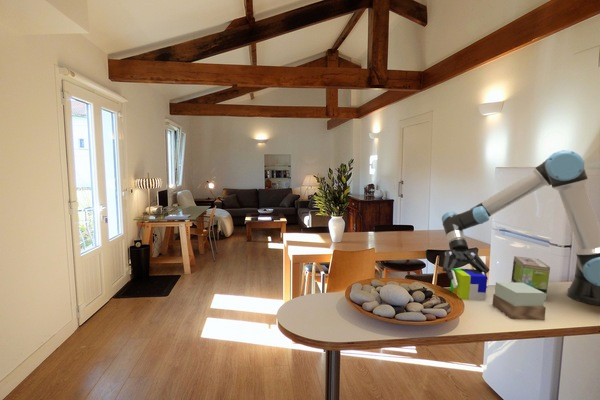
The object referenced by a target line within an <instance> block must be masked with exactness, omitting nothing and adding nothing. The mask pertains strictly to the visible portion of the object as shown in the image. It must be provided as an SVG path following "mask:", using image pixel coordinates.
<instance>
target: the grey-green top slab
mask: <svg viewBox="0 0 600 400" xmlns="http://www.w3.org/2000/svg"><path fill="white" fill-rule="evenodd" d="M494 290H495V291H494V294H495V295H496V296H498V297H500V298H501V299H503V300H505V301H507V302H508V303H510V304H512V305H514V306H544V305H545V304H544V303H545V301H544V297H545V293H544V292H541V291H539V290H537V289H535V288H533V287H531V286H529V285H526V284H524V283H512V282H511V281H509V282H508V281H507V282H505V281H504V282H503V281H502V282H501V281H500V282H499V281H497V282H495V289H494Z"/></svg>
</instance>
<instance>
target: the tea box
mask: <svg viewBox="0 0 600 400" xmlns="http://www.w3.org/2000/svg"><path fill="white" fill-rule="evenodd" d="M550 270H551V267H550V266H549V265H547V264H546V263H545V262H543V261H542V260H540V259H538V258H533V257H525V256H524V257H523V256H515V255H514V256H513V263H512V272H511V280H510V282H512V283H524V284H526V285H529V286H531V287H533V288H535V289H537V290H539V291H541V292H544V293H545V297H544V302H546V300H547V294H548V287H549V279H550V273H551V271H550Z"/></svg>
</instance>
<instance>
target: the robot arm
mask: <svg viewBox="0 0 600 400" xmlns="http://www.w3.org/2000/svg"><path fill="white" fill-rule="evenodd" d="M588 180H589V178H588V175H587V173H586V169H585V160H584V158H583V157H582V155H580V154H579V153H577V152H575V151H573V150H569V149H568V150H565V149H564V150H559V151H556V152H554V153H552V154H551V155H549V157H547V159H546V160H545V161H543V162H542V163H540V164H539V165H537V166H536V167H535V168H534V167H533V171H532V172H530V173H529V174H527V175H525V176H523V177H522V178H520V179H519V180H517V181H515V182H513V183H512V184H511V185H509V186H507V187H505V188H504V189H502V190H500V191H498V192H496V193H495V194H493V195H492V196H490V197H489V198H487V199H485V200H484V201H481V202H480V203H478V204H476V205H475V206H473V207H471V208H470V209H468V210H466V211H463V212H461V213H457V212H455V211H450V212H449V211H448V212H445V213H444V214H443V215H442V217H441V221H442V226H443V229H444V234H445V237H446V240H447V243H448V248H449V249H446V251H445V252H444V260H443V261H444V262H443V263H442V264H443V265H442V272H445V273H446V274H447V276H448V279H449V280H450V281H451V280H452V284H453V287H454V288H456V287H457V285H458V283H457V280H456V276H455V273H454V271H452V269H453V268H454V267H455V265H456V263H457V262H458V263H460V262H463V263H466V264H468V265H470V266H471V267H472V268H474V269H475V270H477V271H479V272H480V273H482V274H484V275H485V276H487V273H489V271H490V269H489V267H488V266H487V265H486V263H485V262H484V260H483V259H481V258H482V257H480V256H479V254H478V252H477V251H476V250H475V251H473V252H470V250H469V246H468V242H467V240H466V236H465V233H464V230H466V229H469V228H473V227H476V226H478V225H481V224H484V223H487V222H488V221H490V217H491V216H493V215H495V214H497V213H499V212H500V211H502V210H504V209H506V208H508V207H509V206H511V205H513V204H515V203H516V202H518V201H520V200H521V199H524V198H525V197H526V196H528V195H530V194H532V193H533V192H535V191H538V190H540V189H541V188H543V187H545V186H547V187H548V186H551V188H552V189H553V190H556V191H558V194H559V197H560V200H561V202H562V205H563V208H564V210H565V213H566V216H567V219H568V221H569V224H570V227H571V229H572V234H573V236H574V238H575V241H576V245H577V248H578V249H577V250H576V251H575V255H576V263H575V271H574V278H573V280H572V282H571V284H570V286H569V287H568V288H567V293H566V295H567V296H568V297H569V298H571V299H573V300H575V301H577V302H582V303H585V304H589V305H594V306H600V223H599V219H598V217H597V214H596V211H595V208H594V207H593V204H592V203H593V202H592V201H591V198H590V196H589V192H588V190H587V186H586V183H587V182H588ZM450 257H452V258H453V259H452V261H451V264H450V266H449V262H450ZM487 281H488V276H487ZM487 288H489V283H488V282H487V286H486V289H487Z"/></svg>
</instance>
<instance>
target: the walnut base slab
mask: <svg viewBox="0 0 600 400" xmlns="http://www.w3.org/2000/svg"><path fill="white" fill-rule="evenodd" d="M492 306H493V308H496V309H497V310H498V311H499V312H501V313H503V314H504V315H505V316H506V317H508V318H510V319H511V320H526V321H527V320H534V321H545V319H546V310H547V308H546V306H544V305H543V306H514V305H512V304H510V303H508V302H507V301H505V300H503V299H501V298H500V297H498V296H496V295H495V293H493V296H492Z"/></svg>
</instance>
